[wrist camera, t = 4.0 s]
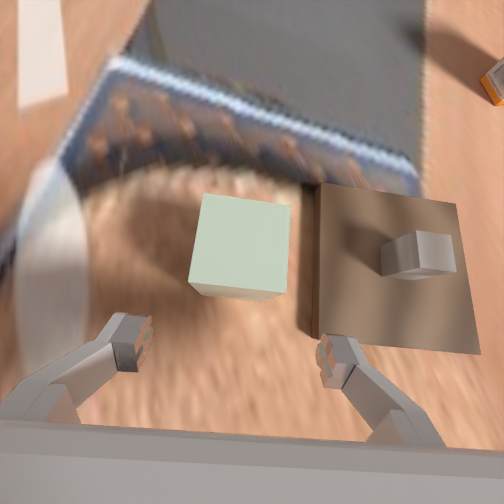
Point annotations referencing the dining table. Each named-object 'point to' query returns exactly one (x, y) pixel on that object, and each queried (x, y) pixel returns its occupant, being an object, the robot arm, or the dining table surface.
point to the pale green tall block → (240, 248)
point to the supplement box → (495, 83)
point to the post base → (382, 297)
